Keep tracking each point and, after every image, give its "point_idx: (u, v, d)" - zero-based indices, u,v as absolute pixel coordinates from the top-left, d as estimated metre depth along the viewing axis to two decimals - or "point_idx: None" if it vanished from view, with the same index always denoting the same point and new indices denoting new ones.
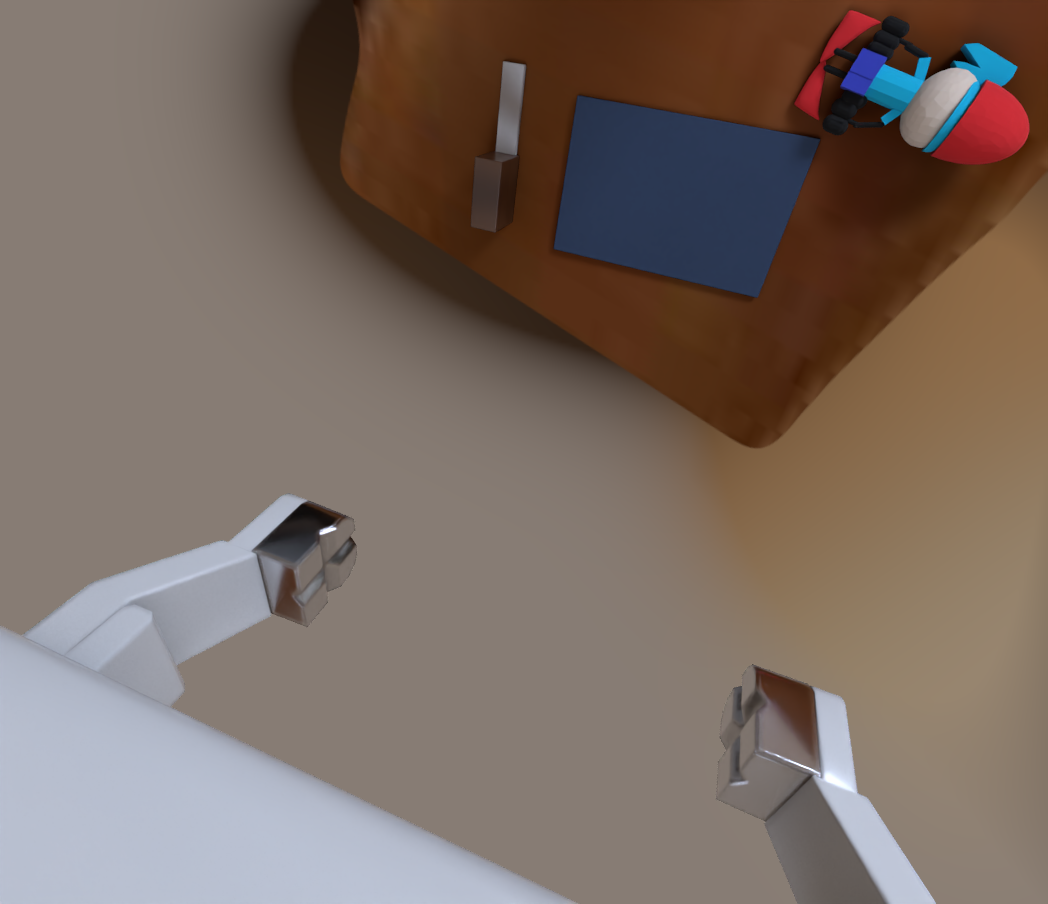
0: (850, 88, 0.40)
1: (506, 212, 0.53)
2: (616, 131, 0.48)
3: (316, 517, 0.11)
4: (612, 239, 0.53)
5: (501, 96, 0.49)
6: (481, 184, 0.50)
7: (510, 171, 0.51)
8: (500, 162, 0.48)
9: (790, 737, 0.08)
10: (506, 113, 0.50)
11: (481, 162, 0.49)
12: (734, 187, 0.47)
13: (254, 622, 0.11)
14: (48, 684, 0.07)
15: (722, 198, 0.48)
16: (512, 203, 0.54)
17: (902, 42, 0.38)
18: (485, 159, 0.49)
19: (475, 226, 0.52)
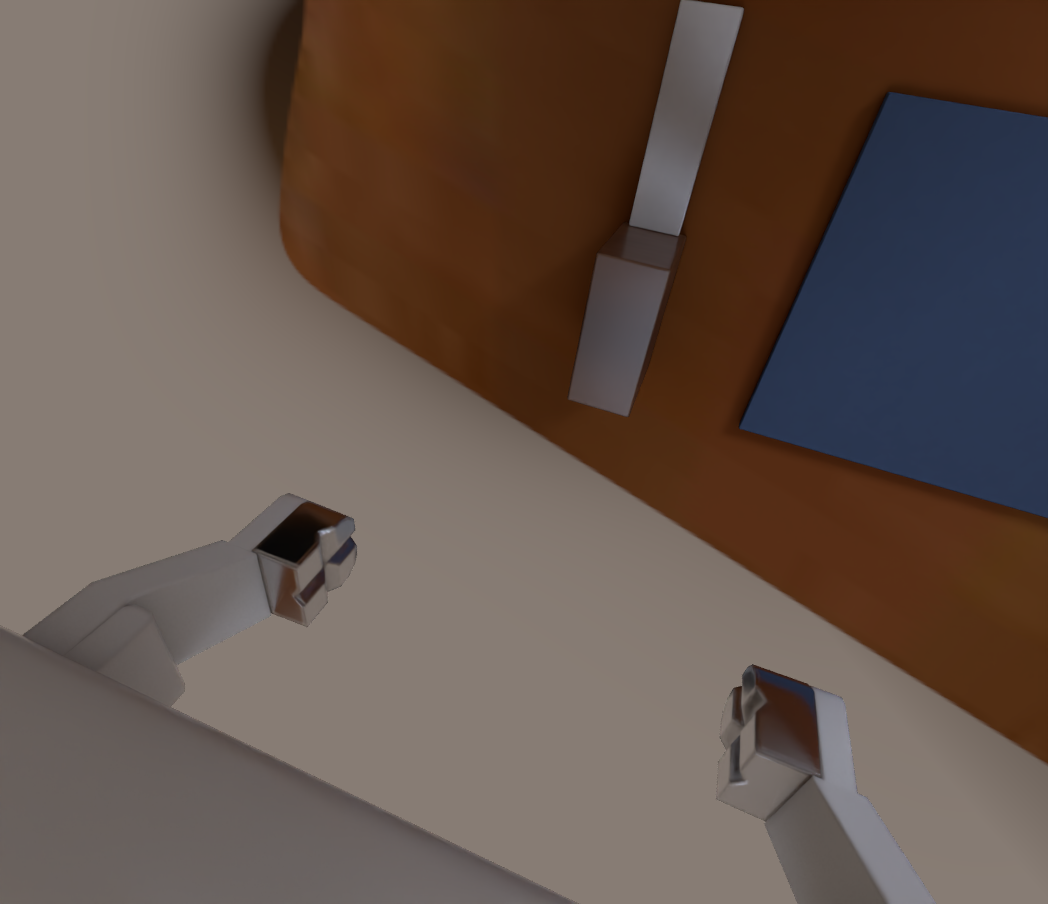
0: None
1: (647, 361, 0.23)
2: (985, 189, 0.18)
3: (316, 517, 0.11)
4: (894, 426, 0.23)
5: (662, 95, 0.19)
6: (606, 316, 0.20)
7: (672, 278, 0.21)
8: (666, 270, 0.18)
9: (790, 737, 0.08)
10: (671, 138, 0.20)
11: (613, 267, 0.19)
12: None
13: (254, 622, 0.11)
14: (48, 684, 0.07)
15: None
16: (656, 336, 0.24)
17: None
18: (625, 260, 0.19)
19: (579, 400, 0.22)
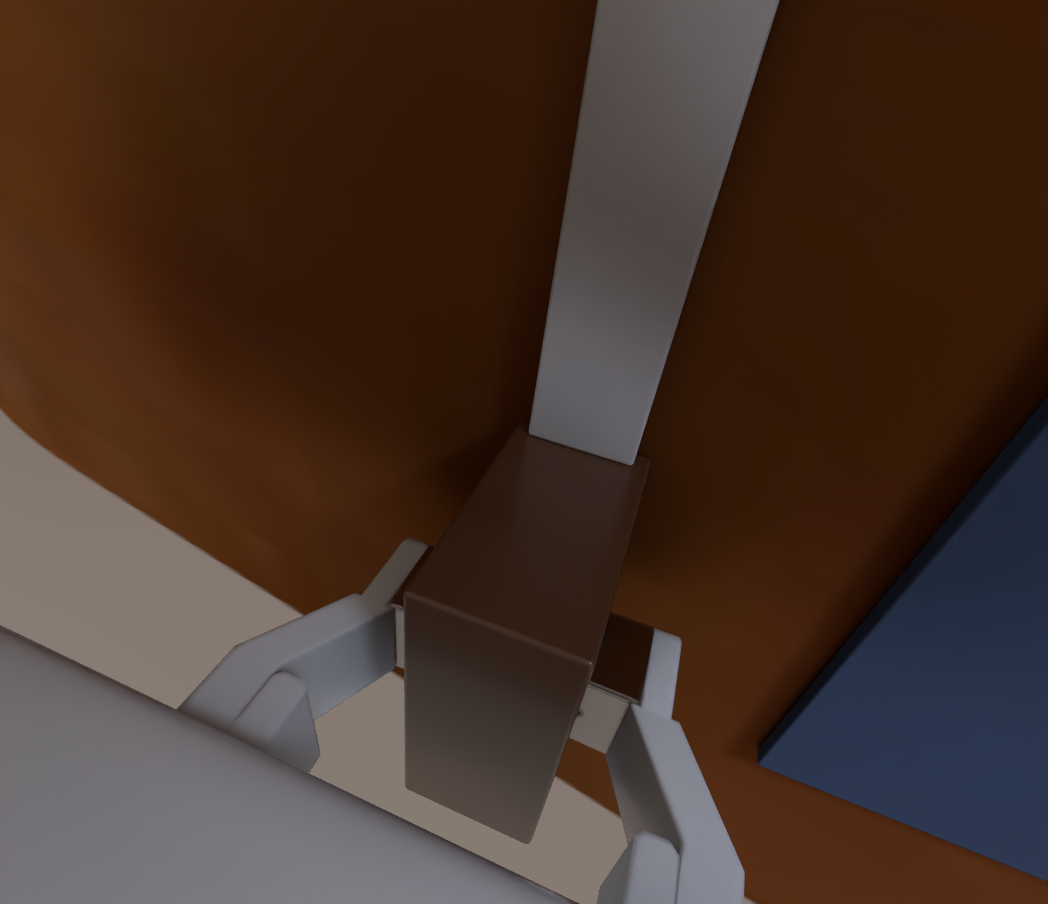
0: None
1: None
2: None
3: None
4: None
5: (578, 179, 0.08)
6: (452, 702, 0.08)
7: None
8: (582, 661, 0.07)
9: (619, 669, 0.09)
10: (605, 275, 0.08)
11: (447, 628, 0.07)
12: None
13: (379, 676, 0.10)
14: (48, 684, 0.07)
15: None
16: None
17: None
18: (474, 621, 0.07)
19: (428, 797, 0.11)
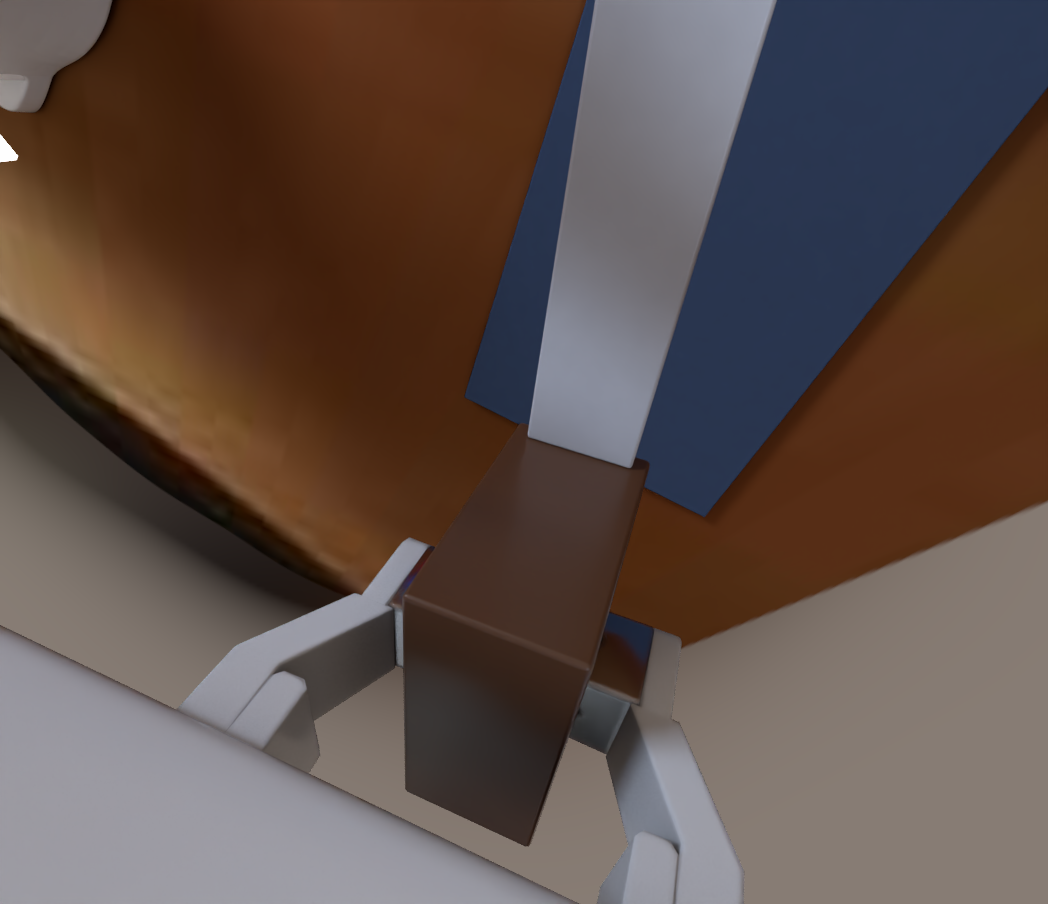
0: None
1: None
2: (525, 349, 0.25)
3: None
4: (726, 407, 0.23)
5: (574, 183, 0.08)
6: (451, 705, 0.08)
7: None
8: (580, 664, 0.07)
9: (619, 670, 0.09)
10: (603, 279, 0.08)
11: (446, 631, 0.07)
12: None
13: (379, 676, 0.10)
14: (48, 684, 0.07)
15: None
16: None
17: None
18: (473, 624, 0.07)
19: (428, 799, 0.11)
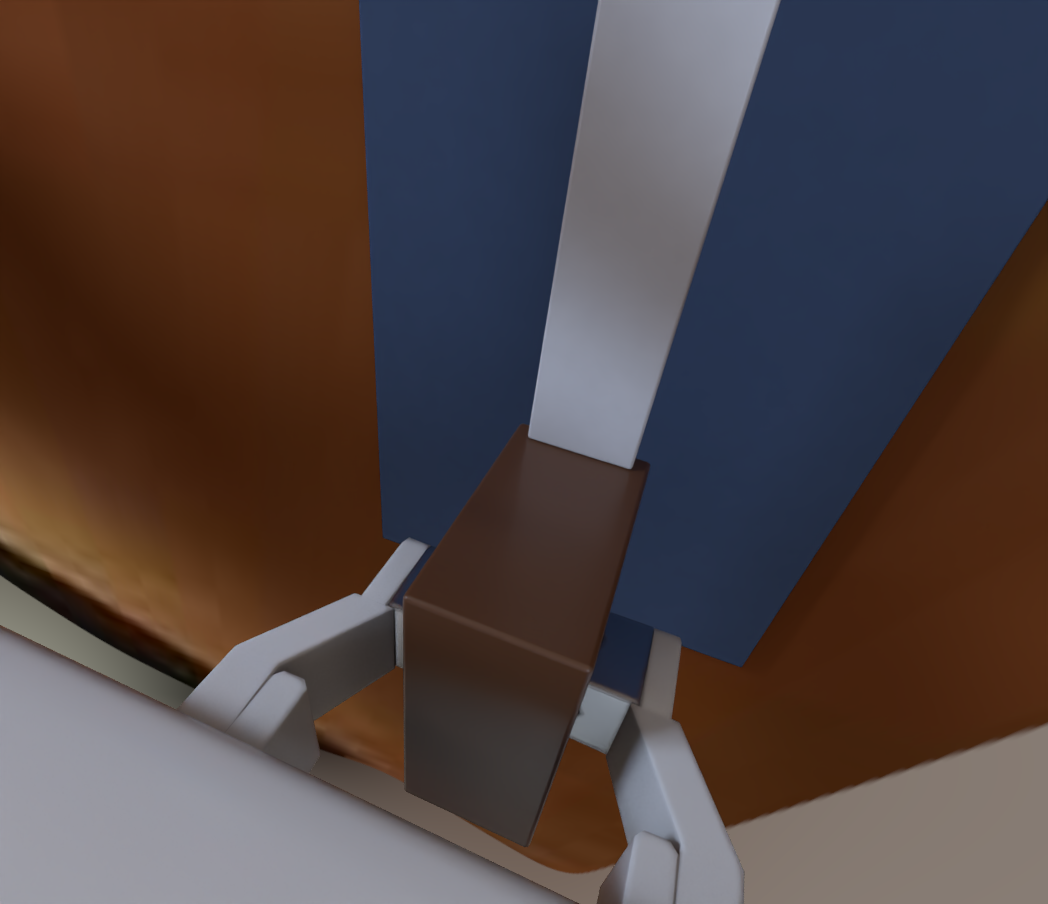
0: None
1: None
2: (436, 472, 0.17)
3: None
4: (735, 523, 0.15)
5: (577, 184, 0.08)
6: (450, 706, 0.08)
7: None
8: (580, 666, 0.07)
9: (619, 670, 0.09)
10: (604, 280, 0.08)
11: (446, 632, 0.07)
12: (570, 62, 0.10)
13: (379, 676, 0.10)
14: (48, 684, 0.07)
15: None
16: None
17: None
18: (473, 625, 0.07)
19: (427, 800, 0.11)
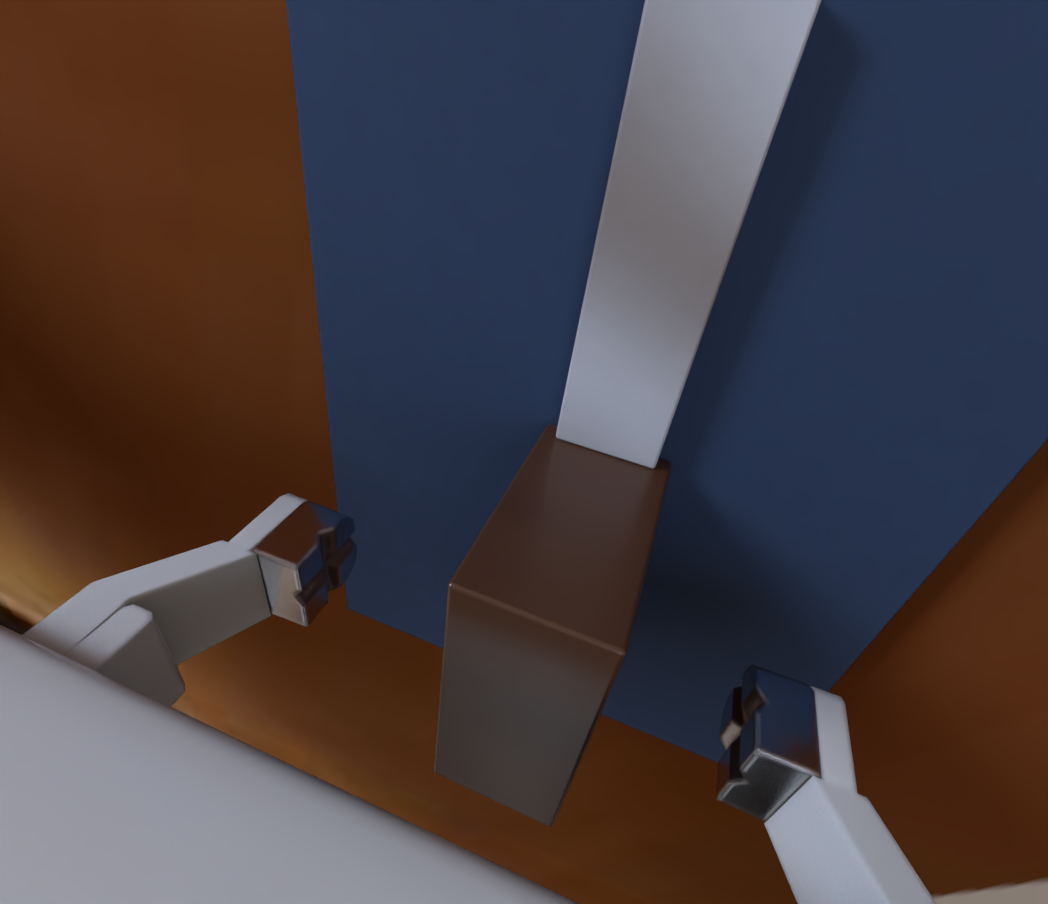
0: None
1: None
2: (403, 547, 0.15)
3: (316, 517, 0.11)
4: (750, 629, 0.12)
5: (612, 201, 0.08)
6: (486, 688, 0.09)
7: None
8: (614, 649, 0.07)
9: (790, 737, 0.08)
10: (634, 291, 0.09)
11: (488, 617, 0.08)
12: (550, 87, 0.08)
13: (254, 622, 0.11)
14: (48, 684, 0.07)
15: (606, 154, 0.08)
16: None
17: None
18: (514, 611, 0.08)
19: (456, 781, 0.11)
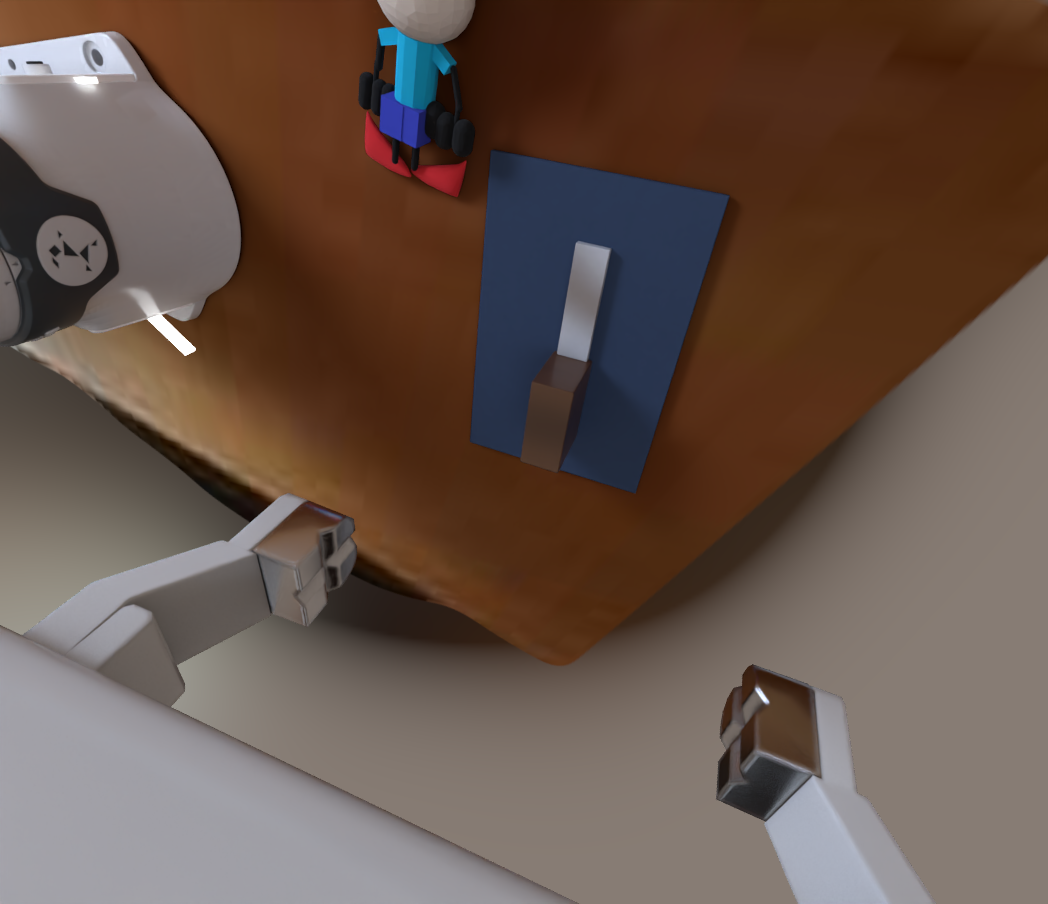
0: (416, 134, 0.29)
1: (571, 436, 0.36)
2: (499, 406, 0.40)
3: (316, 517, 0.11)
4: (623, 421, 0.37)
5: (570, 288, 0.33)
6: (539, 415, 0.33)
7: (581, 390, 0.34)
8: (571, 393, 0.32)
9: (790, 737, 0.08)
10: (577, 309, 0.33)
11: (541, 389, 0.32)
12: (554, 260, 0.32)
13: (254, 622, 0.11)
14: (48, 684, 0.07)
15: (568, 275, 0.33)
16: (578, 418, 0.37)
17: (375, 75, 0.29)
18: (548, 386, 0.32)
19: (527, 462, 0.35)
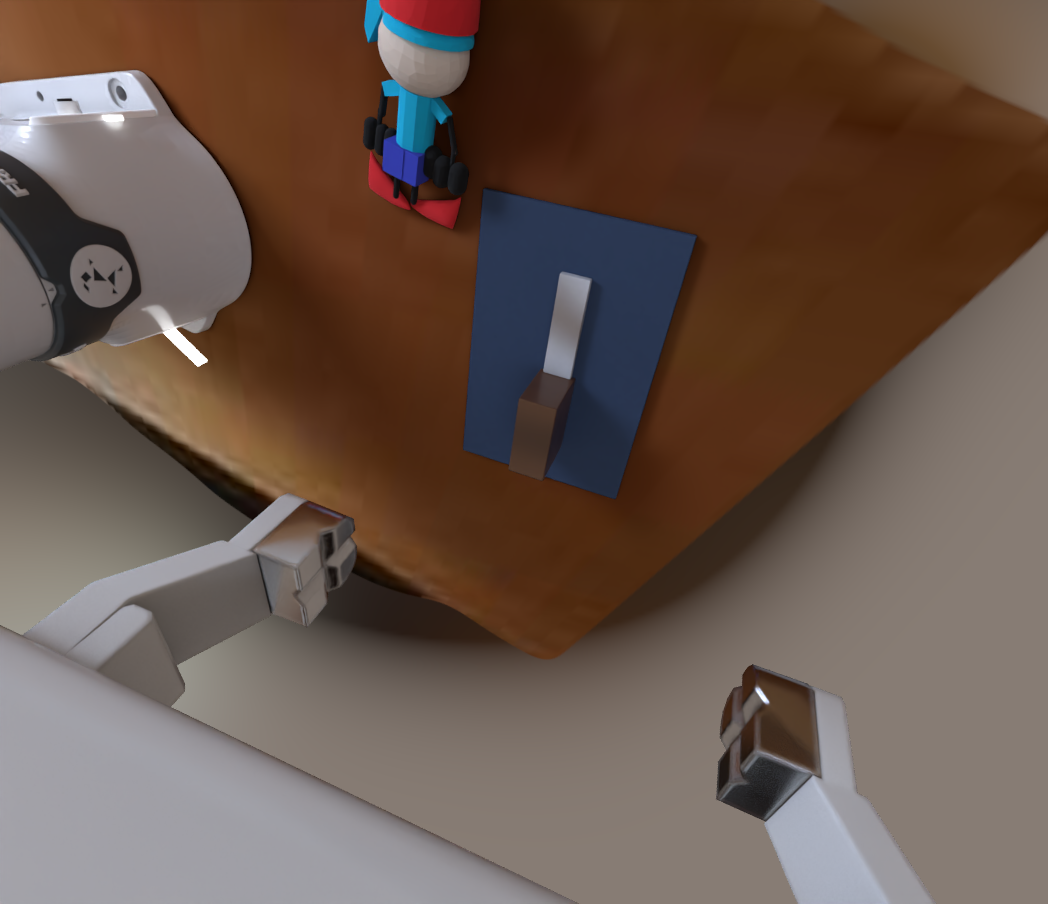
0: (415, 174, 0.32)
1: (555, 447, 0.39)
2: (490, 417, 0.43)
3: (316, 517, 0.11)
4: (604, 433, 0.40)
5: (554, 313, 0.36)
6: (526, 429, 0.36)
7: (564, 405, 0.37)
8: (554, 409, 0.35)
9: (790, 737, 0.08)
10: (561, 332, 0.36)
11: (527, 405, 0.35)
12: (540, 287, 0.36)
13: (254, 622, 0.11)
14: (48, 684, 0.07)
15: (553, 301, 0.36)
16: (563, 430, 0.40)
17: (379, 121, 0.32)
18: (533, 403, 0.35)
19: (515, 471, 0.39)
